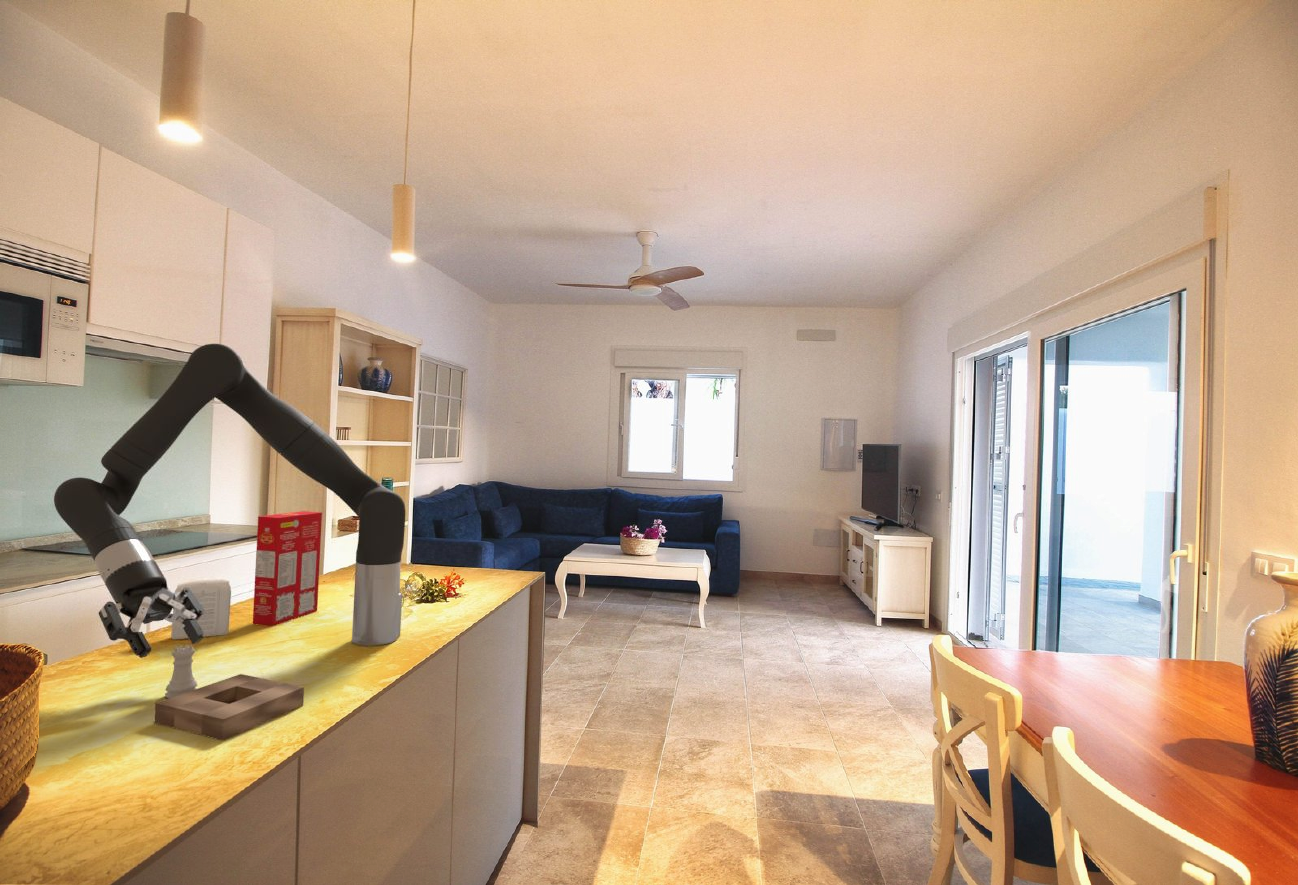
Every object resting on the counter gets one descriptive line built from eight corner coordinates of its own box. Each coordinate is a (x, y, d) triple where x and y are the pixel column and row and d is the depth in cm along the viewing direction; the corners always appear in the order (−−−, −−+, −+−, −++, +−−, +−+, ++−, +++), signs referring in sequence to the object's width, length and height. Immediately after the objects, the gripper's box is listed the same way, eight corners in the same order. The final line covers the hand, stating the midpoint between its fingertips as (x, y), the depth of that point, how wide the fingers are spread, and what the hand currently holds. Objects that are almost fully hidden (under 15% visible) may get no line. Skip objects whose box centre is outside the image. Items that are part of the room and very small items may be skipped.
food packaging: (298, 609, 165) (303, 511, 165) (317, 611, 164) (322, 512, 164) (252, 624, 150) (258, 516, 150) (272, 626, 149) (277, 517, 149)
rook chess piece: (175, 689, 110) (178, 642, 110) (203, 690, 110) (205, 643, 111) (158, 700, 106) (160, 651, 106) (187, 700, 106) (189, 651, 106)
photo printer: (228, 630, 144) (231, 575, 145) (229, 635, 141) (232, 578, 141) (171, 636, 139) (174, 578, 139) (170, 641, 135) (173, 582, 135)
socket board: (239, 691, 111) (240, 673, 111) (303, 705, 106) (304, 686, 106) (154, 723, 97) (155, 702, 97) (222, 740, 93) (223, 719, 93)
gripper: (95, 564, 105) (139, 645, 101) (183, 552, 119) (225, 623, 115) (72, 593, 107) (115, 673, 103) (161, 578, 120) (202, 649, 117)
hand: (173, 647), depth 109 cm, fingers open, 8 cm apart
